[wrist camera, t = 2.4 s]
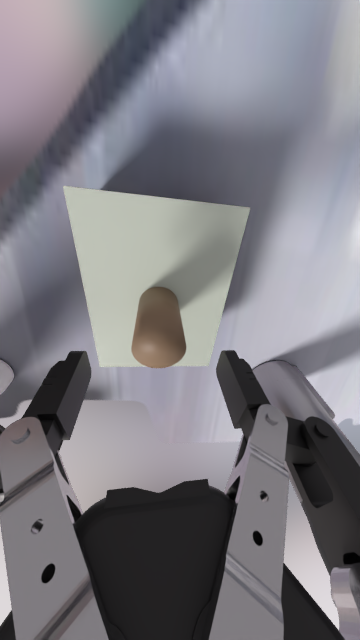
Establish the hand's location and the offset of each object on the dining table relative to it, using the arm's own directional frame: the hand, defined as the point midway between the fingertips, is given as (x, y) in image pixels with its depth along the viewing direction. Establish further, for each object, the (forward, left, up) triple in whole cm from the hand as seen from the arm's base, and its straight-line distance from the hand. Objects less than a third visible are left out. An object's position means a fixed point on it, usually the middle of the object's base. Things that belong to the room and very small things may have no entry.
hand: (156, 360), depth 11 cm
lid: (0, 0, -9) cm, 9 cm away
